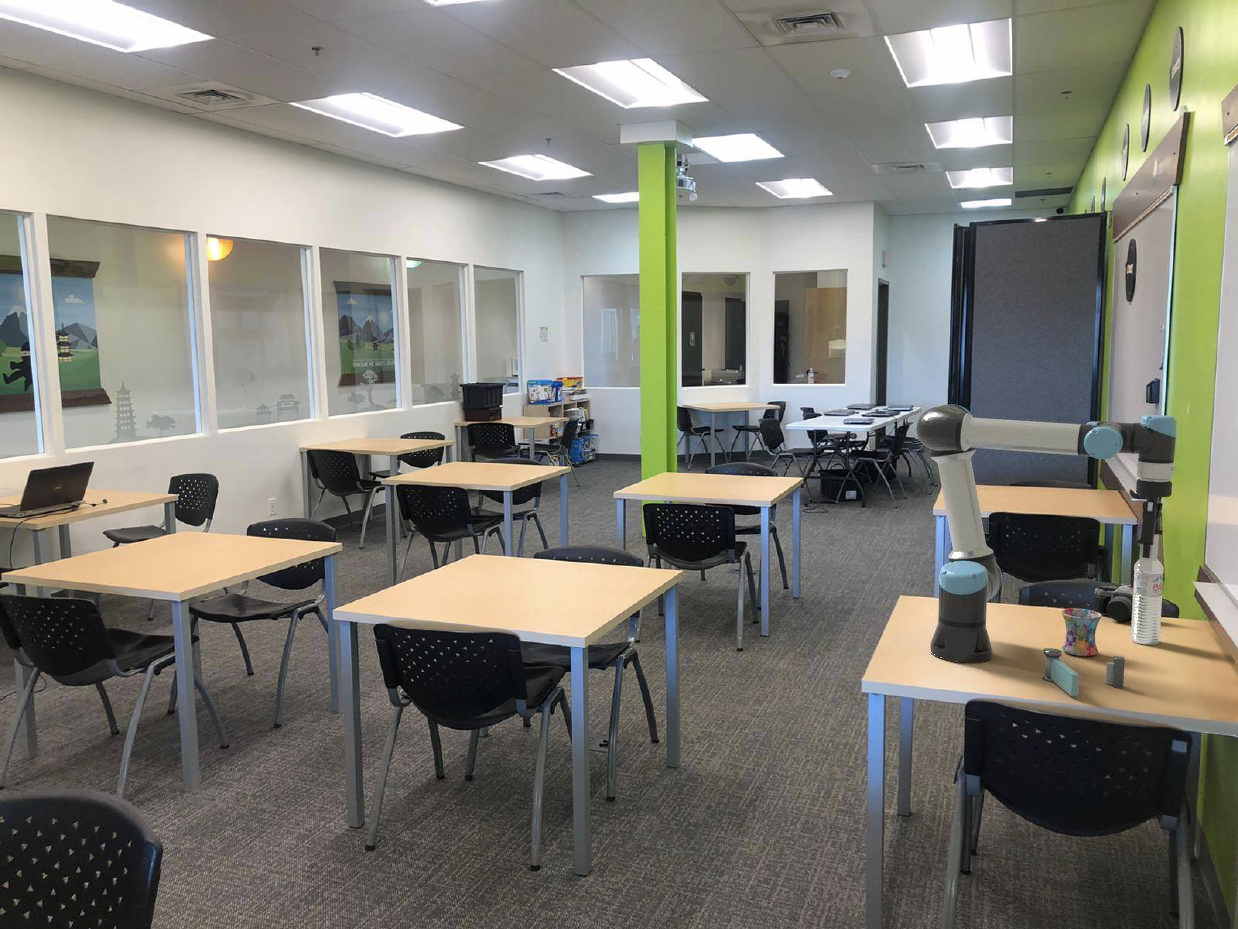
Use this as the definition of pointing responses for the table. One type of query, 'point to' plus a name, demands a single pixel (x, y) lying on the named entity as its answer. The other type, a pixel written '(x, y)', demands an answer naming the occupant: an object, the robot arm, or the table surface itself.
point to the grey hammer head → (1051, 653)
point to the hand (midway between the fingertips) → (1148, 565)
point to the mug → (1080, 631)
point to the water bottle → (1147, 604)
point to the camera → (1114, 601)
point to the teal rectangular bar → (1062, 675)
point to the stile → (1115, 672)
